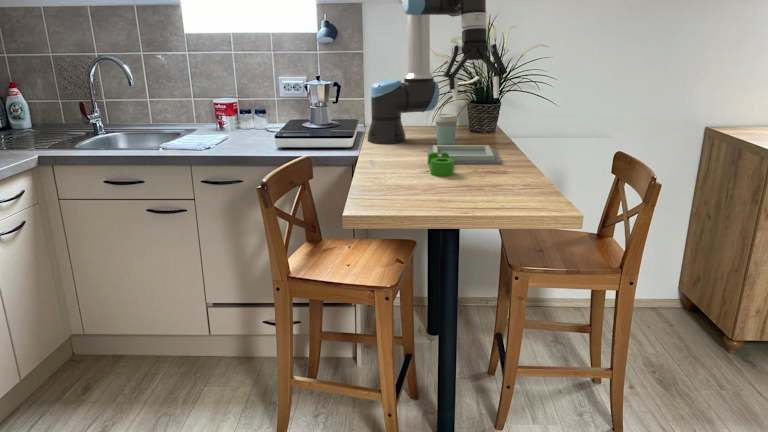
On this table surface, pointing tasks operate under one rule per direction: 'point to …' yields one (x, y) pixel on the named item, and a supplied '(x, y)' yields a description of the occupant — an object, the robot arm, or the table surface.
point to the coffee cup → (446, 128)
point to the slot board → (467, 153)
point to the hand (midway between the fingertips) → (475, 99)
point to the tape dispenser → (440, 164)
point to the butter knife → (371, 162)
